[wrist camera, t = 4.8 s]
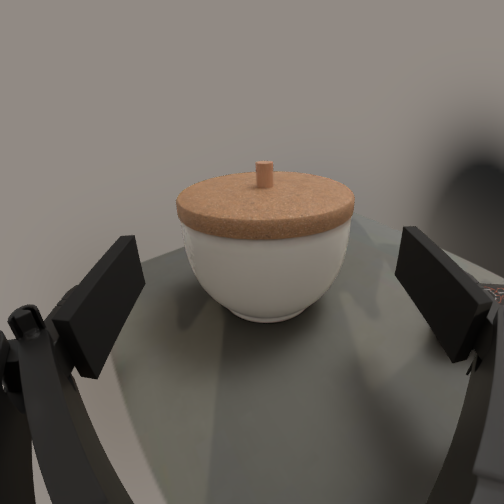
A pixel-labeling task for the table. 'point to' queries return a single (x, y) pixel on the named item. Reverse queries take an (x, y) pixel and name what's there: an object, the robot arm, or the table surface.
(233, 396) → the table surface
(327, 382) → the table surface
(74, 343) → the robot arm
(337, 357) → the table surface
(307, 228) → the trinket box
